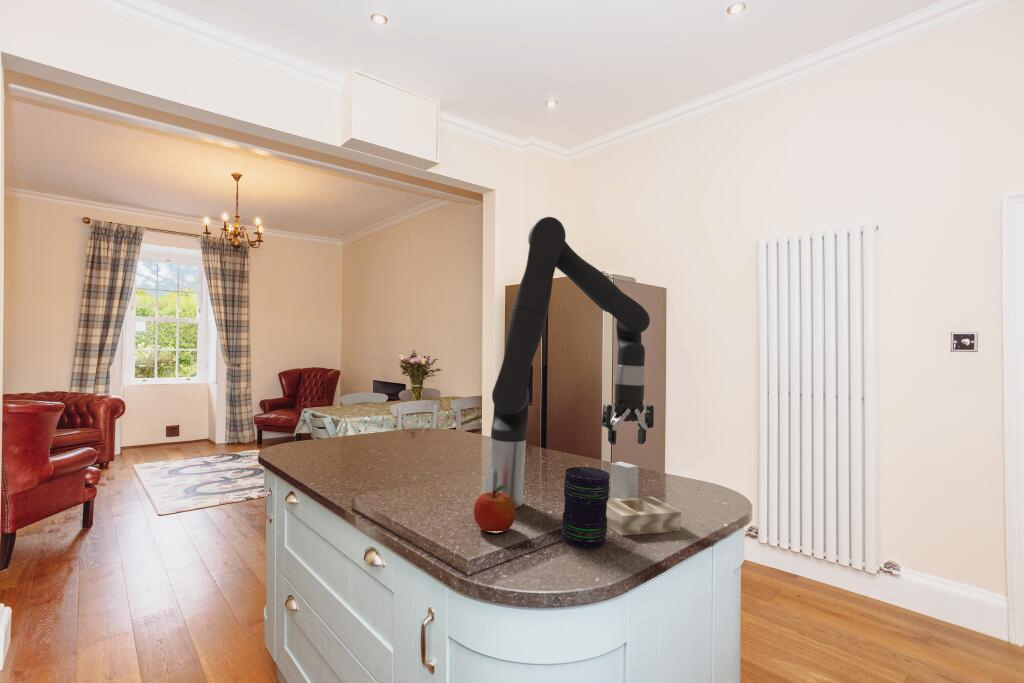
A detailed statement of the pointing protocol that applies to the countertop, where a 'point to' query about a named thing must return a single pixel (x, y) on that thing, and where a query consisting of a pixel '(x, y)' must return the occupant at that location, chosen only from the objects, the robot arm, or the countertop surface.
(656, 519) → the well block
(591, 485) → the storage jar
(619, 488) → the skincare box
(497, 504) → the fruit
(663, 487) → the countertop surface
